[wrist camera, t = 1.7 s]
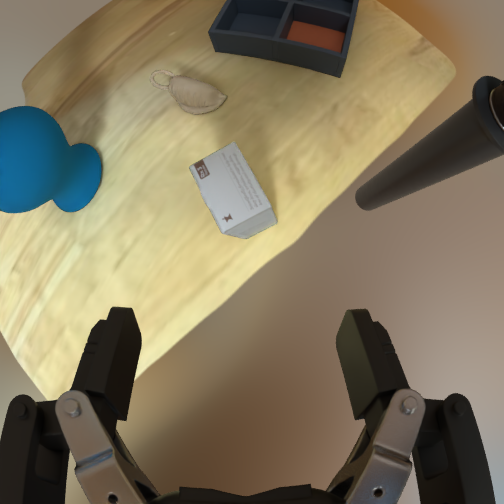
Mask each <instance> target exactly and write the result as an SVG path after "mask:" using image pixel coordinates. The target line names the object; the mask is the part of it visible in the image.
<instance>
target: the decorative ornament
mask: <svg viewBox="0 0 504 504" xmlns="http://www.w3.org/2000/svg"><path fill="white" fill-rule="evenodd" d="M157 74H167V75H169V76H170V77H172V79H171V80H170V83H169V85H168V86H163V85H160V84H158V83H156V82H155V81H154V76H155V75H157ZM150 82H151V84H152V85H153V86H155V87H157V88H159V89H169V93H170V94H171V95H172V97H173V98H174V99H176V101H177V102H178V104H179V106H180V107H182V108H183V109H184V111H186V112H190V113H192V114H201V113H208V112H209V111H214V110H215V109H216V108H218V107H219V106H220V105H221V104H222V103H223V102H224V100H225V99H226V98H227V96H226V95H224V94H223V93H221V92H220V91H219V90H218V89H216V88H215V87H213V86H211V85H209V84H207V83H205V82H202V81H199V80H197V79H193V78H190V77H186V76H181V75H176V76H175V75H174V74H173V73H172V72H170V71H167V70H157V71H154V72H153V73H152V74H151V75H150Z"/></svg>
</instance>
